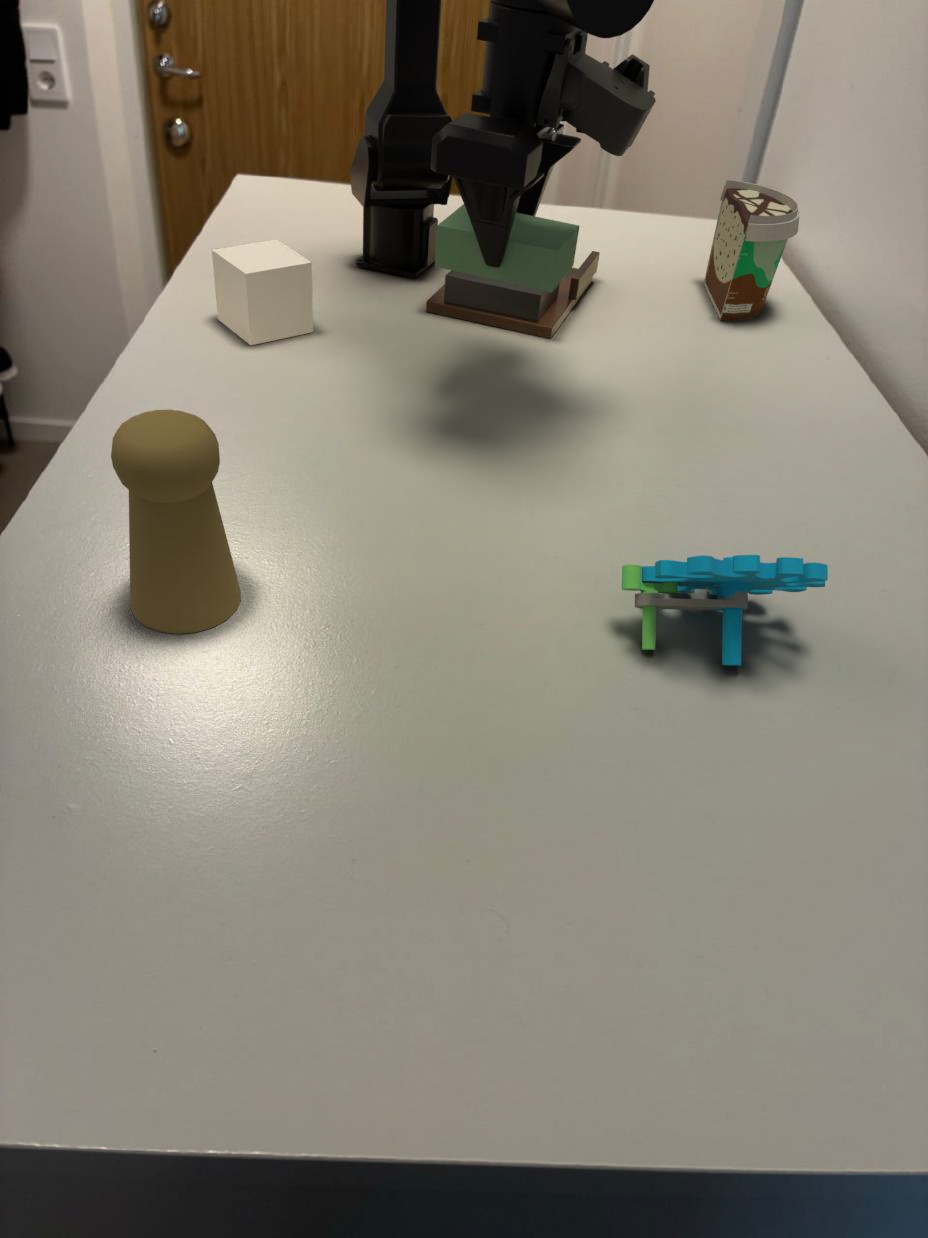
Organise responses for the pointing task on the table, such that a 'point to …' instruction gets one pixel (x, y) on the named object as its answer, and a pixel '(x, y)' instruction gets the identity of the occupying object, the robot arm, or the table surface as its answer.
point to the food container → (748, 247)
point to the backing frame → (512, 300)
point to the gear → (716, 589)
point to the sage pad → (511, 250)
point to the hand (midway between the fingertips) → (506, 252)
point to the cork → (175, 523)
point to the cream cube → (263, 291)
